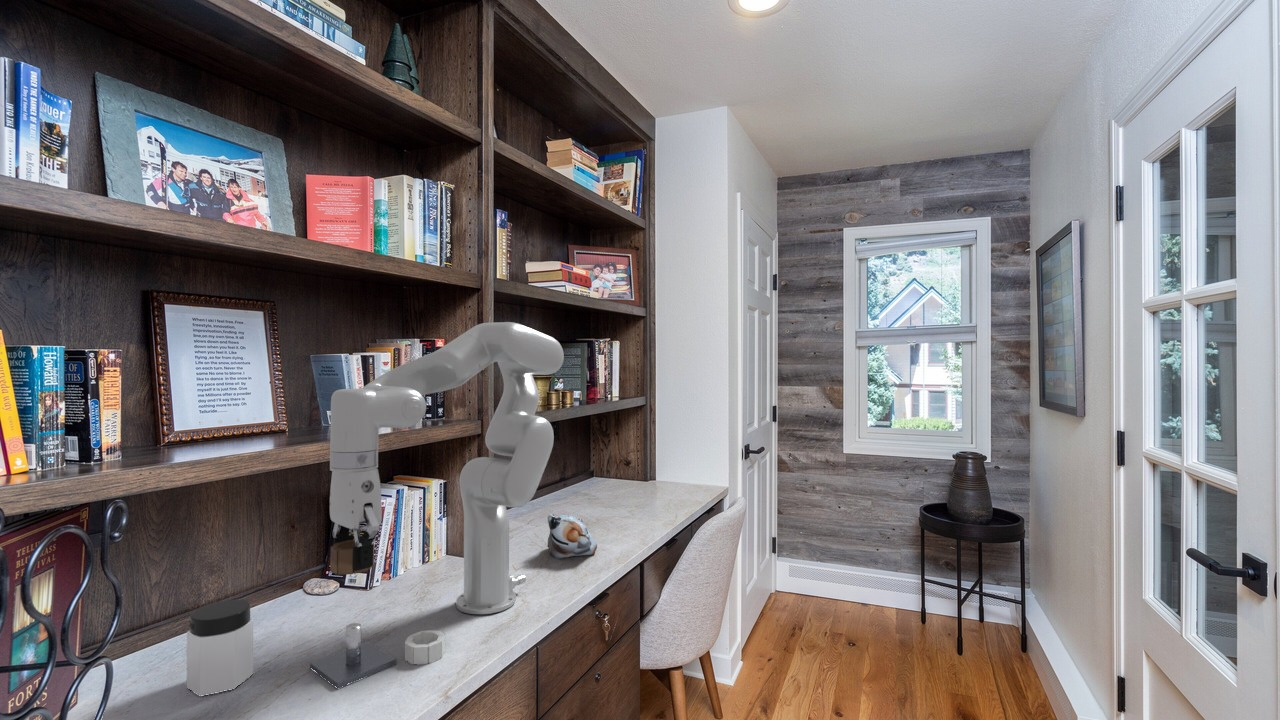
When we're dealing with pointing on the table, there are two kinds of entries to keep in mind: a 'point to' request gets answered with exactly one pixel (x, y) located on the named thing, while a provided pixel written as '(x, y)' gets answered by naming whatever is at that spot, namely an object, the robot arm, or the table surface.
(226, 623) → the jar
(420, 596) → the table surface
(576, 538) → the lucky cat figurine
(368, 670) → the post
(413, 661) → the collar
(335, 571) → the brown angular block
